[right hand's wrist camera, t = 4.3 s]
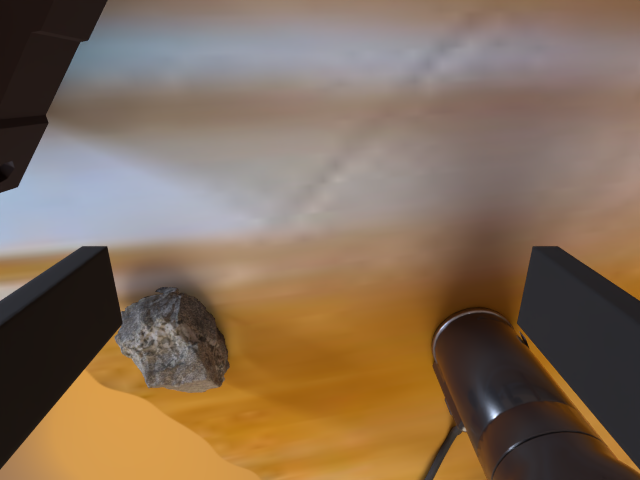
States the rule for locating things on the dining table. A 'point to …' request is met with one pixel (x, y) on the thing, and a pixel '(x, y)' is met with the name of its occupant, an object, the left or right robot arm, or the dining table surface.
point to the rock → (174, 342)
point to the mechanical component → (35, 71)
